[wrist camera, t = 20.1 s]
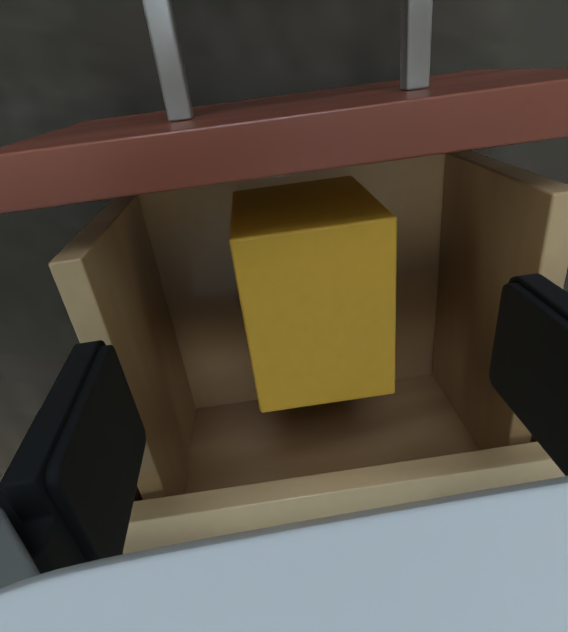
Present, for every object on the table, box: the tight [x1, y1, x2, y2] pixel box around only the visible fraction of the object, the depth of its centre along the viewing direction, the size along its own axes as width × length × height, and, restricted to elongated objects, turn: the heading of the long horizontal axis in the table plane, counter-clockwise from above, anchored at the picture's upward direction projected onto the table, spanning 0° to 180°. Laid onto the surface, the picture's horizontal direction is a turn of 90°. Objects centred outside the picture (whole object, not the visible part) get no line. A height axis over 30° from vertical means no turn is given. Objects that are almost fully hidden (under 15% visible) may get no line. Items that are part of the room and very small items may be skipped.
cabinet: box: [123, 435, 565, 554], centre depth 21 cm, size 15×16×10 cm
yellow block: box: [229, 175, 397, 413], centre depth 16 cm, size 6×4×6 cm
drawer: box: [0, 0, 568, 500], centre depth 15 cm, size 19×14×8 cm
